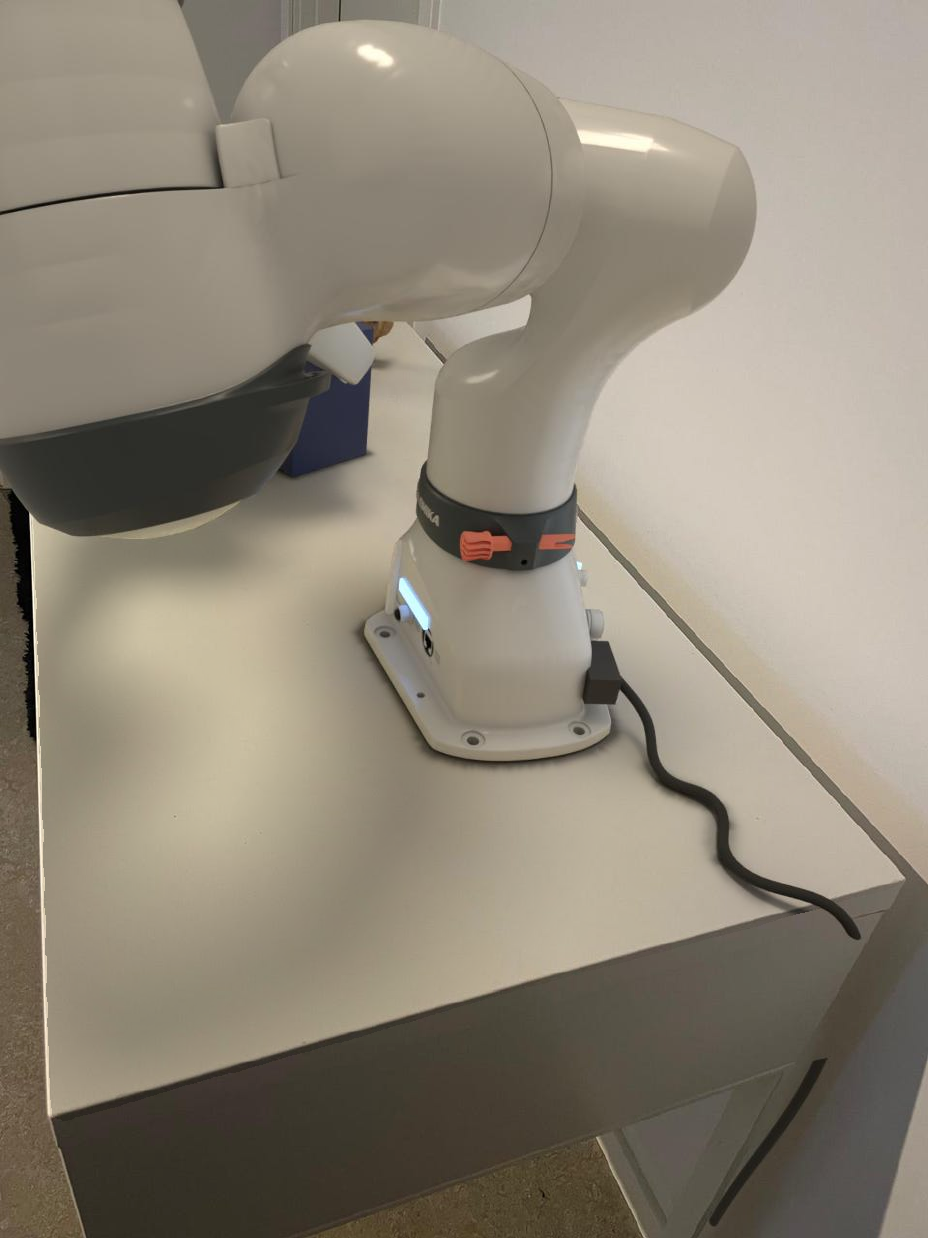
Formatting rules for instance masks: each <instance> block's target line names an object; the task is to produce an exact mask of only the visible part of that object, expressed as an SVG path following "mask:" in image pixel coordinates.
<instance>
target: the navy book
mask: <svg viewBox="0 0 928 1238" xmlns="http://www.w3.org/2000/svg"><path fill="white" fill-rule="evenodd" d="M355 323H356V325H357V326H358V327H359V329H360V330H361V331H362V333H363V334H364V335H365V337H366V338H367V340H368V341H369V342H370V344H371V345H372V347H373V348H374V344H373V333H374V328H372V327H370V326H368V325H366V324H364V323H362V322H355ZM372 366H373V364H372V365H371V366H370V368H369V369H368V371H367V372H366V374H365V375H364V376H363V377H362V379H361V380H360V381H359V382H358V383H357V384H356V385H351V384H349V383H343V382H341V381H340V380H338V379H336V378H335V377H334V376H333V375H331V382H330V388H329V390H327V391H326V392H324V393H321V394H319V395H316V396H312V397H310V399H309V402H308V405H307V410H306V413H305V417H304V420H303V424H302V427H301V430H300V433H299V436H298V440H297V443H296V444H295V445H294V447H293V449H292V450H291V452H290V453H289V455H288V456H287V458H286V459H285V461H284V462H283V464H282V465H281V467H280V468H279V470H280V471H282V472H284V473H285V474H287V475H289V476H290V477H291V478H294V477H296V476H300V475H304V474H306V473H310V472H313V471H316V470H319V469H322V468H326V467H329V466H333V465H336V464H339V463H342V462H345V461H349V460H352V459H355V458H359V457H362V456H366V455H367V451H368V450H367V449H368V434H369V418H370V417H369V416H370V401H371V400H370V399H371V382H372ZM304 371H305V373H310V372H318V371H325V370H323V369H322V368H320V367H318V366H316V365H314V364H312V363H310V362H309V361H307V360H306V364H305V368H304Z"/></svg>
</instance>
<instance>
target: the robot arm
mask: <svg viewBox="0 0 928 1238" xmlns="http://www.w3.org/2000/svg"><path fill="white" fill-rule="evenodd" d="M184 4H185V0H0V473H1V474H2V477H4V479H5V481H6V482H7V484H8V486H9V487H10V488H11V490H12V491H13V493H14V494H15V496H16V497H17V498H18V500H19V501H20V502H21V504H22V505H23V507H24V508H25V510H27V512H28V513H29V514H30V515H31V516H32V517H33V519H34V520H35V521H36V522H37V523H38V524H40V525H42V526H45V527H48V528H50V529H53V530H56V531H57V532H61V533H63V534H66V535H69V536H71V537H79V538H84V537H85V538H86V537H87V538H88V537H89V538H90V537H103V538H111V539H120V540H121V539H122V540H146V539H147V540H148V539H156V538H157V539H158V538H163V537H168V536H172V535H177V534H181V533H184V532H187V531H191V530H194V529H196V528H199V527H201V526H203V525H205V524H207V523H209V522H211V521H213V520H216V519H217V518H219V517H221V516H222V515H224V514H225V513H227V512H228V511H229V510H231V509H232V508H234V507H235V506H237V505H238V504H239V503H240V502H241V501H243V500H245V499H247V498H249V497H251V496H254V495H255V494H258V493H259V492H261V491H262V490H263V489H264V487H266V485H267V484H268V483H269V482H270V480H272V478H273V477H274V476H275V474H276V473H277V472H278V470H280V467H281V465H282V464H283V462H284V461H285V459H286V458H287V456H288V455H289V453H290V452H291V450H292V449H293V447H294V445H295V444H296V443H297V440H298V436H299V433H300V430H301V427H302V424H303V420H304V417H305V413H306V410H307V405H308V402H309V399H310V397H312V396H316V395H319V394H321V393H324V392H326V391H327V390H329V388H330V382H331V375H333V376H334V377H335V378H336V379H338V380H340V381H341V382H343V383H349V384H351V385H356V384H357V383H358V382H359V381H360V380H361V379H362V377H363V376H364V375H365V374H366V372H367V371H368V369H369V368H370V366H371V365H372V366H373V363H374V362H375V359H376V351H375V349H374V346H373V347H372V345H371V344H370V342H369V341H368V340H367V338H366V337H365V335H364V334H363V333H362V331H361V330H360V329H359V327H358V326H357V325H356V323H355V322H361V321H392V322H394V323H395V322H396V323H416V322H418V323H419V322H430V321H437V320H445V319H450V318H454V317H460V316H463V315H468V314H472V313H477V312H481V311H484V310H488V309H493V308H496V307H500V306H505V305H508V304H511V303H514V302H516V301H518V300H519V301H520V300H521V299H523V298H525V297H527V296H530V310H529V314H528V318H527V321H526V324H525V325H522V326H519V327H516V328H513V329H508V330H505V331H501V332H496V333H493V334H490V335H489V334H488V335H485V336H483V337H480V338H478V339H475V340H472V341H470V342H468V343H466V344H464V345H462V346H460V347H459V348H458V349H456V350H455V351H454V352H453V353H451V355H449V356H448V358H447V359H446V360H445V361H444V363H443V364H442V366H441V367H440V370H439V371H438V374H437V376H436V379H435V381H434V389H433V398H432V410H431V417H430V419H431V420H430V427H429V428H430V429H429V436H428V437H429V439H428V450H427V459H426V460H425V461H424V462H423V464H422V465H421V468H420V473H419V478H418V481H417V484H416V491H415V498H416V505H415V514H416V518H415V520H414V521H413V523H412V525H410V527H409V528H408V529H407V530H406V532H404V533H403V535H401V536H400V537H399V538H398V540H397V541H395V543H394V545H393V550H392V556H391V562H390V570H389V575H388V584H387V590H386V598H385V604H384V605H385V606H384V609H382V610H380V611H378V612H377V613H374V614H373V615H371V616H370V617H369V618H367V620H366V621H365V625H364V629H363V635H364V637H365V639H366V641H367V643H368V644H369V646H370V648H371V650H372V651H373V653H374V655H375V656H376V658H377V659H378V662H379V664H381V666H382V668H383V670H384V671H385V674H387V677H388V678H389V680H390V682H391V683H392V685H393V687H394V689H395V690H396V692H397V693H398V695H399V697H400V698H401V700H402V702H403V703H404V705H405V707H406V709H407V710H408V712H409V714H410V715H411V717H412V719H413V720H414V722H415V724H416V725H417V727H418V729H419V731H420V732H421V734H422V736H423V737H424V739H425V741H426V742H427V744H428V745H429V746H430V747H431V748H432V749H433V750H435V751H437V752H439V753H443V754H446V755H448V756H452V757H455V758H461V759H467V760H476V761H486V762H487V761H488V762H515V761H528V760H539V759H544V758H553V757H558V756H563V755H569V754H572V753H575V752H579V751H582V750H585V749H587V748H589V747H591V746H593V745H595V744H597V743H599V742H601V741H602V740H603V739H604V738H606V737H607V736H608V735H609V734H610V732H611V726H612V717H611V715H610V711H609V705H611V706H614V705H616V703H617V701H618V697H619V694H620V692H621V693H622V694H623V695H624V696H625V698H626V699H627V701H629V703H630V704H631V705H632V707H633V709H635V711H636V713H637V715H638V716H639V719H640V721H641V723H642V726H643V730H644V736H645V746H646V753H647V759H648V762H649V764H650V767H651V768H652V771H653V772H654V773H655V775H656V777H658V778H659V779H660V781H662V782H663V783H665V785H667V786H669V787H670V788H673V789H674V790H677V791H679V792H683V793H684V794H685V793H686V794H688V795H691V796H694V797H697V798H699V799H701V800H703V801H704V802H706V803H707V804H708V805H709V806H710V807H711V808H712V809H713V811H714V813H715V814H716V817H717V835H716V836H717V841H716V842H717V848H718V852H719V856H720V858H721V861H722V862H723V863H724V864H725V865H726V867H727V868H728V869H729V870H730V871H731V872H732V873H733V874H734V875H736V877H738V879H741V880H743V881H744V882H746V883H747V884H749V885H752V886H753V887H756V889H757V888H758V889H761V890H764V891H766V892H768V893H772V894H776V895H778V896H783V897H786V898H791V899H794V900H798V901H801V902H803V903H808V904H811V905H813V906H816V907H817V908H820V909H822V910H824V911H826V912H827V913H829V915H832V916H833V917H834V919H836V920H837V922H839V924H840V925H841V927H842V928H843V930H844V931H845V933H846V934H847V936H848V937H849V938H851V939H853V940H855V941H860V940H861V939H862V935H861V933H860V930H859V928H858V926H857V925H856V923H855V921H854V920H853V918H852V917H851V916H850V915H849V914H848V913H847V911H845V909H844V908H843V907H841V906H840V905H838V904H837V903H836V902H835V901H833V900H832V899H829V897H826V896H824V895H823V894H819V893H818V892H814V891H812V890H808V889H805V888H803V887H802V888H801V887H798V886H795V885H791V884H788V883H787V884H786V883H783V882H779V881H775V880H772V879H769V878H767V877H764V876H762V875H759V874H757V873H755V872H753V871H751V869H748V868H747V867H745V866H744V865H743V864H742V863H740V862H739V860H737V858H736V857H735V856H734V854H733V852H732V850H731V848H730V841H729V839H730V837H729V836H730V819H729V813H728V811H727V808H726V807H725V805H724V803H723V802H722V800H721V799H720V798H719V797H718V796H717V795H716V794H715V793H713V792H712V791H710V790H708V789H706V788H704V787H702V786H700V785H697V784H693V783H690V782H688V781H685V780H681V779H679V778H677V777H676V776H674V775H672V774H671V773H670V772H669V771H667V769H666V768H665V766H663V763H662V762H661V758H660V756H659V753H658V744H657V736H656V729H655V724H654V721H653V719H652V716H651V714H650V712H649V711H648V708H647V706H646V705H645V704H644V702H643V701H642V699H641V698H640V696H639V695H638V694H637V693H636V692H635V691H634V689H633V688H632V687H631V685H630V684H629V683H628V682H627V681H626V680H625V678H623V676H622V675H621V673H620V669H619V667H618V664H617V661H616V659H615V655H614V653H613V650H612V647H611V644H610V641H608V640H599V639H601V638H602V637H603V634H604V629H605V616H604V613H603V611H602V610H600V609H597V608H596V609H595V608H586V604H585V599H584V593H583V588H585V587H586V586H587V585H588V580H589V575H588V571H587V570H586V569H583V568H582V565H583V563H582V562H579V561H578V560H577V554H576V550H575V543H576V533H577V531H576V530H577V523H578V516H579V515H578V514H579V508H578V488H577V485H576V483H575V481H576V477H577V473H578V469H579V464H580V461H581V455H582V453H583V448H584V444H585V441H586V437H587V433H588V430H589V428H590V427H589V426H590V424H591V421H592V417H593V415H594V412H595V408H596V406H597V404H598V401H599V398H600V397H601V394H602V393H603V390H604V388H605V387H606V385H607V383H608V382H609V380H610V379H611V377H612V376H613V375H614V373H615V372H616V370H617V369H618V368H619V366H620V365H621V364H622V363H623V362H624V361H625V360H626V359H627V357H628V356H630V354H631V353H632V352H634V351H635V350H636V349H637V347H640V346H641V345H642V344H643V343H644V342H645V341H647V340H648V339H650V338H651V337H652V336H654V335H655V334H657V333H658V332H659V331H662V330H663V329H665V328H666V327H669V326H671V325H672V324H674V323H676V322H678V321H681V320H683V319H685V318H687V317H690V316H693V315H694V314H696V313H698V312H700V311H701V310H703V309H704V308H706V307H707V306H708V305H710V304H711V303H712V302H714V301H715V300H716V298H718V297H719V296H720V295H721V294H722V293H724V291H725V290H726V289H727V288H728V287H729V286H730V284H731V283H732V282H733V280H735V277H736V276H737V275H738V273H739V271H740V269H741V268H742V267H743V265H744V262H745V260H746V258H747V256H748V254H749V251H750V248H751V246H752V243H753V239H754V235H755V231H756V225H757V215H758V210H757V209H758V202H757V200H758V199H757V190H756V185H755V180H754V177H753V173H752V170H751V168H750V165H749V163H748V161H747V158H746V156H745V155H744V154H743V152H742V150H741V148H740V147H739V146H738V145H736V144H734V143H731V142H730V141H727V140H725V139H723V138H720V137H718V136H717V135H714V134H712V133H709V132H707V131H706V130H703V129H700V128H698V127H695V126H693V125H691V124H688V123H686V122H683V121H682V120H678V119H676V118H673V117H671V116H667V115H661V114H655V113H649V112H644V111H639V110H633V109H628V108H623V107H617V106H610V105H606V104H605V105H604V104H599V103H593V102H589V101H582V100H577V99H571V98H565V97H559V96H557V95H556V94H555V93H554V92H553V91H552V90H551V89H550V88H549V87H548V86H546V85H545V83H543V82H542V81H540V80H539V79H537V78H536V77H534V76H532V75H531V74H528V73H526V72H525V71H523V70H522V69H520V68H518V67H517V66H514V65H513V64H511V63H509V62H507V61H505V60H504V59H502V58H500V57H498V56H497V55H495V54H493V53H492V52H490V51H487V50H486V49H484V48H482V47H480V46H478V45H476V44H474V43H472V42H470V41H467V40H465V39H463V38H461V37H459V36H456V35H453V34H452V33H448V32H445V31H442V30H438V29H436V28H431V27H428V26H424V25H421V24H415V23H409V22H403V21H393V20H381V19H355V20H354V19H353V20H342V21H333V22H326V23H325V22H324V23H320V24H318V25H314V26H311V27H307V28H305V29H302V30H300V31H298V32H295V33H294V34H292V35H290V36H288V37H286V38H285V39H283V40H282V41H281V42H279V43H278V44H277V45H275V46H274V47H273V48H272V49H271V50H269V52H267V53H266V55H265V56H263V58H261V60H260V61H259V62H258V63H257V64H256V65H255V67H254V68H253V69H252V71H251V72H250V74H249V75H248V77H247V78H246V79H245V81H244V83H243V85H242V87H241V89H240V90H239V93H238V94H237V96H236V100H235V102H234V104H233V107H232V110H231V113H230V117H229V120H228V123H224V124H223V123H222V121H221V118H220V113H219V111H218V108H217V105H216V102H215V98H214V95H213V92H212V90H211V86H210V83H209V81H208V78H207V75H206V73H205V70H204V67H203V64H202V61H201V58H200V56H199V52H198V50H197V47H196V43H195V41H194V39H193V36H192V33H191V31H190V28H189V26H188V23H187V21H186V18H185V15H184V13H183V10H182V8H183V6H184ZM306 360H307V361H309V362H310V363H312V364H314V365H316V366H318V367H320V368H322V369H323V370H325V371H318V372H310V373H305V371H304V368H305V364H306ZM828 1058H829V1057H824V1058H820V1059H816V1060H812V1061H811V1063H810V1066H809V1068H808V1070H807V1072H806V1074H805V1075H804V1077H803V1079H802V1080H801V1083H800V1084H799V1087H798V1089H797V1090H796V1091H795V1093H794V1095H793V1096H792V1098H791V1099H790V1101H789V1103H788V1104H787V1106H786V1107H785V1109H784V1111H782V1113H781V1115H780V1116H779V1117H778V1119H777V1121H775V1124H774V1125H773V1126H772V1128H771V1129H770V1130H769V1132H768V1133H767V1134H766V1136H765V1137H764V1139H763V1140H762V1142H761V1143H760V1144H759V1145H758V1147H757V1148H756V1150H755V1151H754V1153H753V1154H752V1155H751V1157H749V1158H748V1161H747V1162H746V1163H745V1164H744V1166H743V1167H742V1169H741V1170H740V1171H739V1173H738V1174H737V1175H736V1177H735V1178H734V1179H733V1181H732V1182H731V1183H730V1185H729V1187H728V1188H727V1190H726V1191H725V1193H724V1194H723V1196H722V1197H721V1199H720V1200H719V1202H718V1203H717V1205H716V1206H715V1208H714V1210H713V1212H712V1214H711V1215H710V1217H709V1219H708V1222H709V1225H710V1226H711V1227H717V1226H718V1225H719V1223H720V1221H721V1220H722V1218H723V1217H724V1215H725V1213H726V1212H727V1210H728V1208H729V1207H730V1206H731V1205H732V1203H733V1201H734V1199H736V1197H737V1196H738V1194H739V1193H740V1191H741V1190H742V1188H743V1187H744V1186H745V1185H746V1183H747V1182H748V1180H750V1178H751V1176H752V1175H753V1174H754V1172H755V1171H756V1170H757V1168H758V1167H759V1166H760V1165H761V1163H762V1162H763V1161H764V1160H765V1158H766V1157H767V1156H768V1154H769V1153H770V1152H771V1150H772V1149H773V1147H774V1146H775V1145H776V1144H777V1142H778V1141H779V1139H780V1138H781V1137H782V1136H783V1134H784V1133H785V1131H786V1130H787V1129H788V1127H789V1126H790V1124H791V1123H792V1122H793V1120H794V1119H795V1117H796V1116H797V1114H798V1112H799V1111H800V1110H801V1108H802V1106H803V1105H804V1104H805V1102H806V1100H807V1098H808V1097H809V1095H810V1093H811V1092H812V1090H813V1088H814V1087H815V1085H816V1083H817V1081H818V1079H819V1077H820V1076H821V1073H822V1072H823V1069H824V1067H825V1065H826V1063H827V1061H828V1060H829V1059H828Z"/></svg>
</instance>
